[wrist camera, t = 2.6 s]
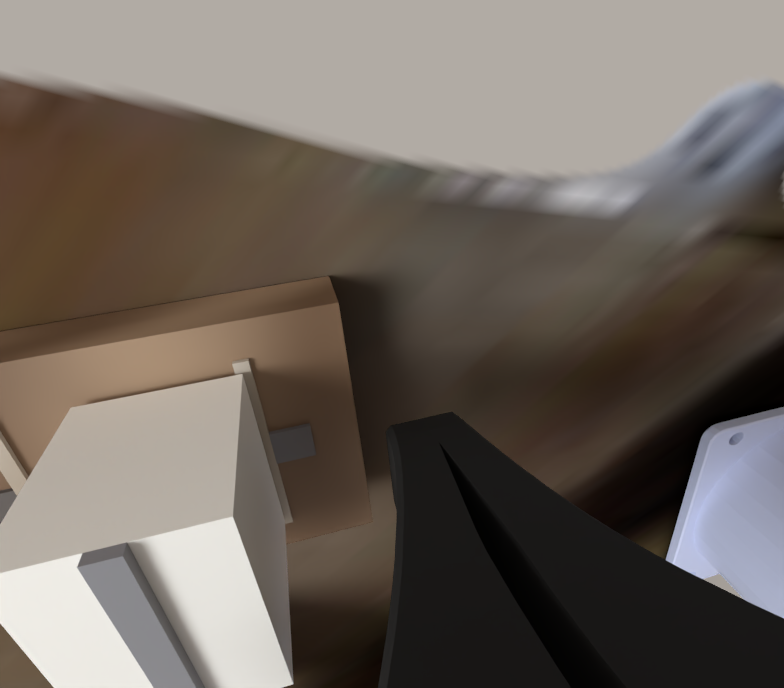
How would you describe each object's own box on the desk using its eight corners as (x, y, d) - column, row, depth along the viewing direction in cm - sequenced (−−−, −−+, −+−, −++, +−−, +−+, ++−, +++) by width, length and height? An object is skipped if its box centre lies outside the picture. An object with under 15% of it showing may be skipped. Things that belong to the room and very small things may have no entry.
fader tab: (242, 373, 9) (232, 529, 6) (284, 520, 11) (293, 697, 8) (70, 407, 8) (-44, 597, 5) (147, 554, 10) (96, 758, 7)
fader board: (328, 275, 10) (339, 304, 9) (362, 479, 13) (374, 525, 12) (-424, 403, 8) (-565, 467, 7) (-187, 612, 11) (-251, 687, 10)
